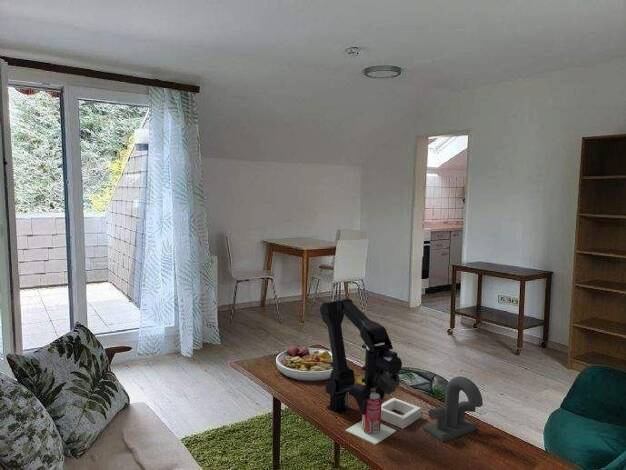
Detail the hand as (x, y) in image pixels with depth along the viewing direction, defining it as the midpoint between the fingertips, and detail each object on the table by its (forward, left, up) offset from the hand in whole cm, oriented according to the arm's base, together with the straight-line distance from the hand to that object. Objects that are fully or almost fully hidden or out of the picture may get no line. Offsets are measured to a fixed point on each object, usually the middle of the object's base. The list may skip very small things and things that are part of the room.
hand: (371, 409), depth 156 cm
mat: (0, 0, -7) cm, 7 cm away
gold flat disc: (+31, +22, -8) cm, 39 cm away
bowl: (+25, +51, -8) cm, 57 cm away
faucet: (+19, -22, -8) cm, 30 cm away
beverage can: (0, 0, -7) cm, 7 cm away
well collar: (+15, -1, -7) cm, 17 cm away
